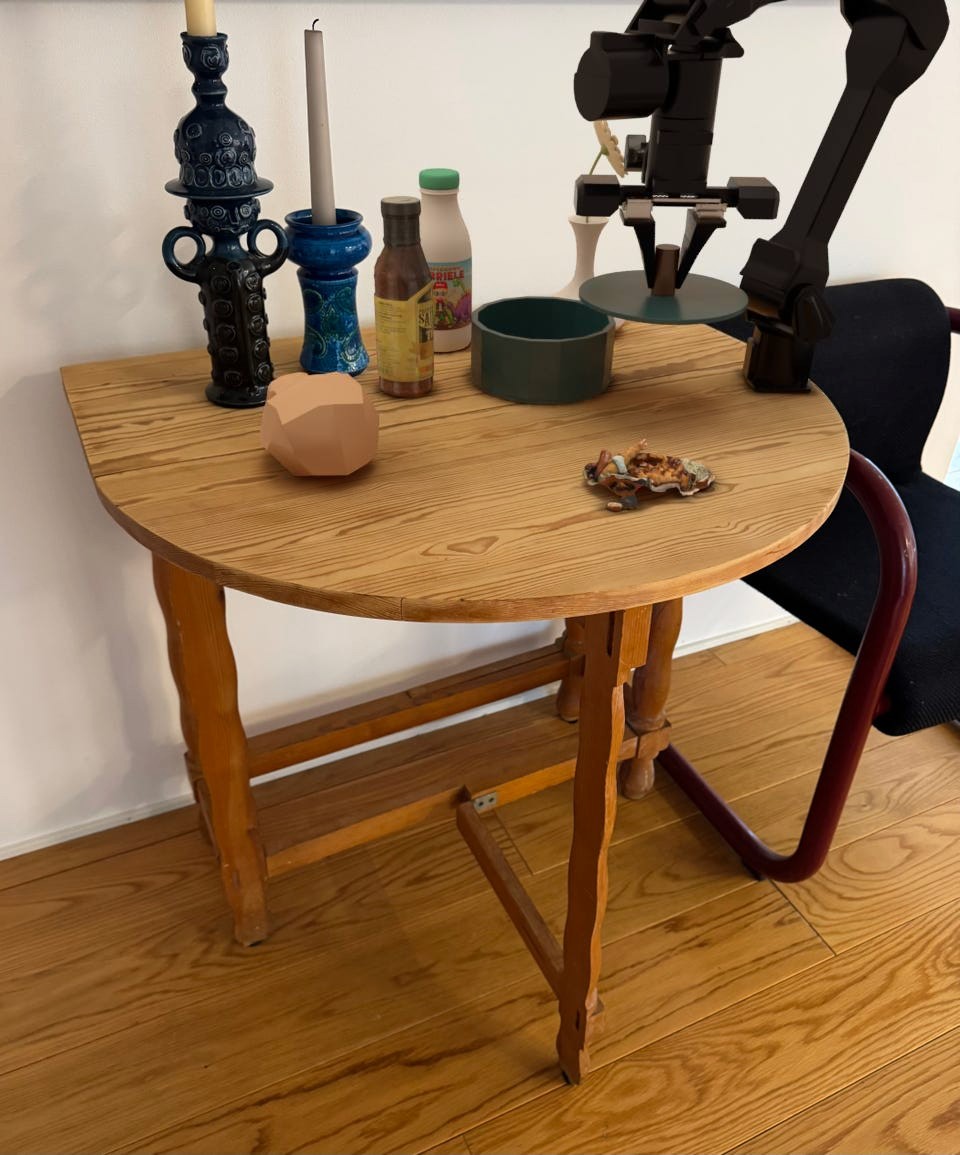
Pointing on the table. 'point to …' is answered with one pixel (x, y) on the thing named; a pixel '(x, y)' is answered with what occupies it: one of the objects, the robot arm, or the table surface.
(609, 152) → the flower in vase
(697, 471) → the pastry
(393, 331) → the sauce bottle
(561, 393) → the pot
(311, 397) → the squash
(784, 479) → the table surface
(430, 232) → the milk bottle
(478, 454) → the table surface
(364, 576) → the table surface
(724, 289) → the lid
